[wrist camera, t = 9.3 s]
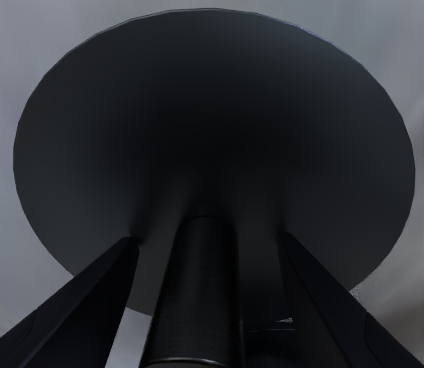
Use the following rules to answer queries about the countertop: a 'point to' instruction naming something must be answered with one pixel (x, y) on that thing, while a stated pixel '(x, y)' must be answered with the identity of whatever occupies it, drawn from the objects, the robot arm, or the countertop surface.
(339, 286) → the robot arm
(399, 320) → the countertop surface
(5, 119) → the countertop surface
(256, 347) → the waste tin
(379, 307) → the countertop surface
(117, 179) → the tin lid
